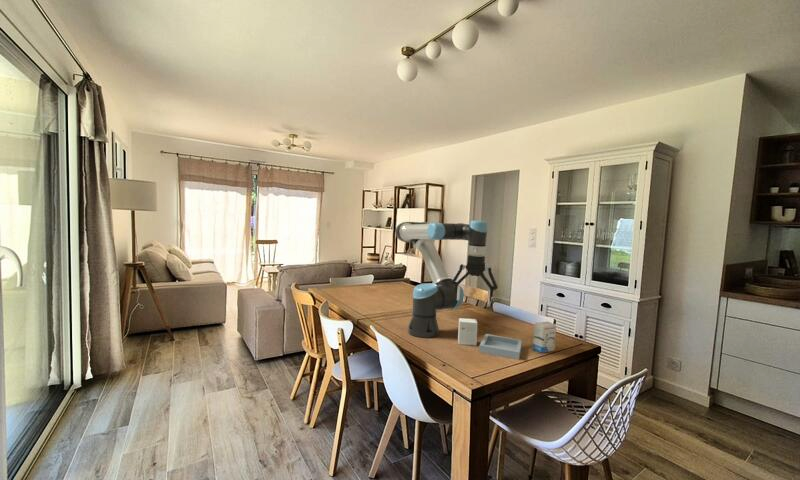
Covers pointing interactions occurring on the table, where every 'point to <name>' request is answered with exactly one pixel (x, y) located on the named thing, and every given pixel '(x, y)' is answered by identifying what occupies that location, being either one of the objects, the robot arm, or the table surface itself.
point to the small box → (467, 331)
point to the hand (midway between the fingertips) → (473, 301)
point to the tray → (501, 346)
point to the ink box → (544, 337)
